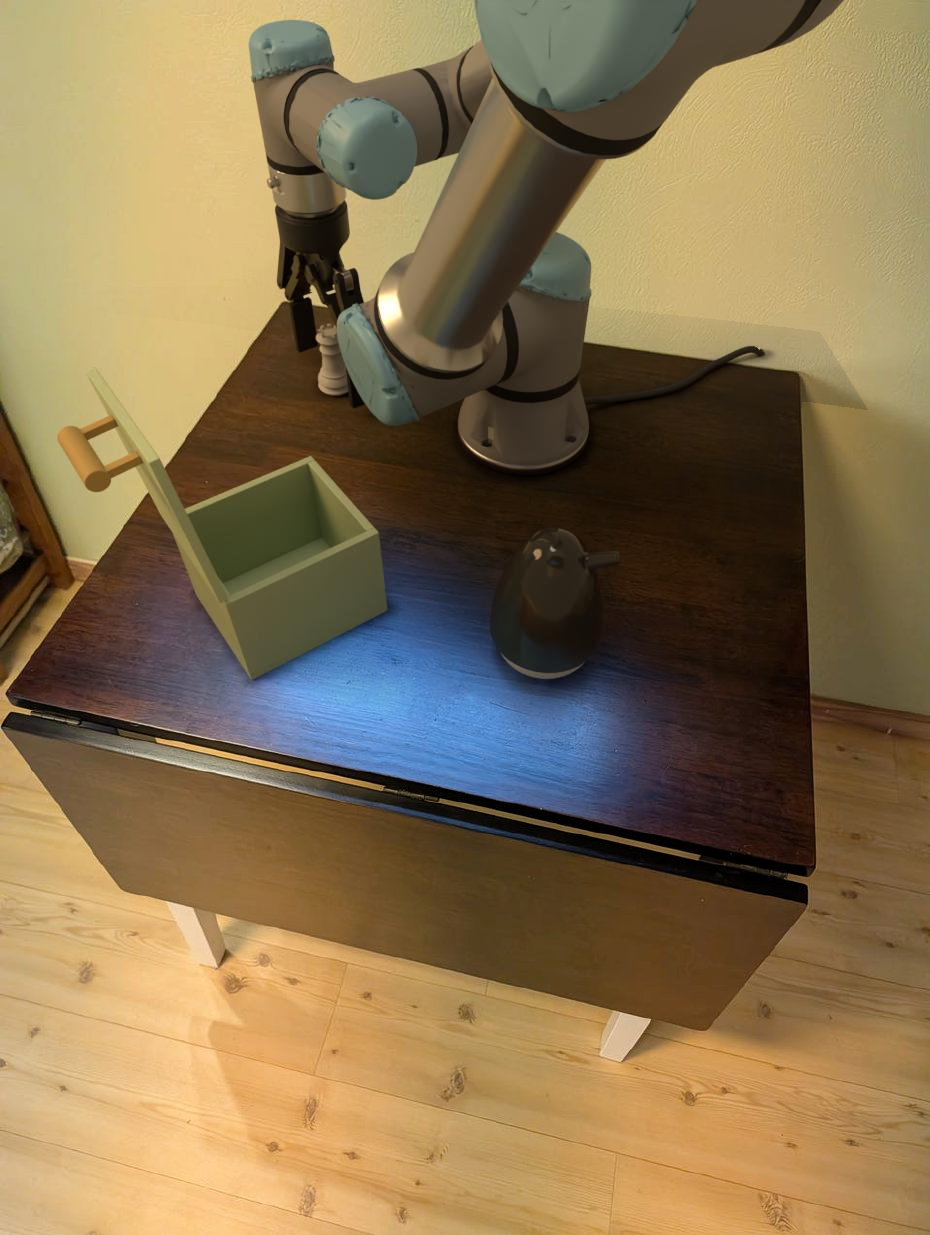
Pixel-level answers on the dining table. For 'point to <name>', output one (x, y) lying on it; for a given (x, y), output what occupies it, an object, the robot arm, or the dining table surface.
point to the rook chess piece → (331, 363)
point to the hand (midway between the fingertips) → (333, 375)
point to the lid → (148, 468)
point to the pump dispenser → (550, 604)
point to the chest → (287, 565)
